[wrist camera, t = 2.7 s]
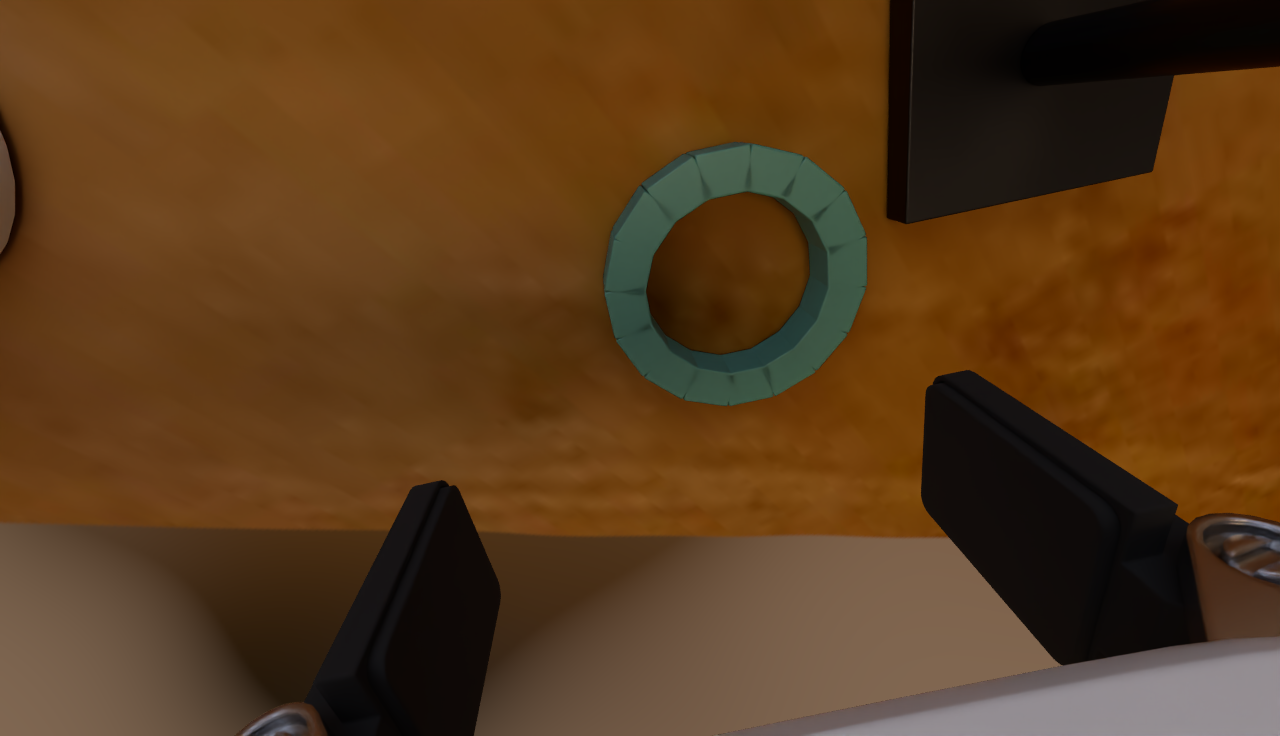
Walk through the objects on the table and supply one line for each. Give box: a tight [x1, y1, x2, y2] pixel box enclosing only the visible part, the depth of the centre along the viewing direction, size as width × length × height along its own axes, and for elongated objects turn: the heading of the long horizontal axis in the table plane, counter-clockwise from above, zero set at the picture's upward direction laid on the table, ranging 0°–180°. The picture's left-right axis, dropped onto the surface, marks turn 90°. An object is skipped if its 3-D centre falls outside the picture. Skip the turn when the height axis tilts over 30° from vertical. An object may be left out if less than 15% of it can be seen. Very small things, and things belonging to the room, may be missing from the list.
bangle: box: [603, 142, 867, 406], centre depth 22 cm, size 10×10×2 cm
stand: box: [887, 0, 1280, 224], centre depth 15 cm, size 10×10×10 cm
